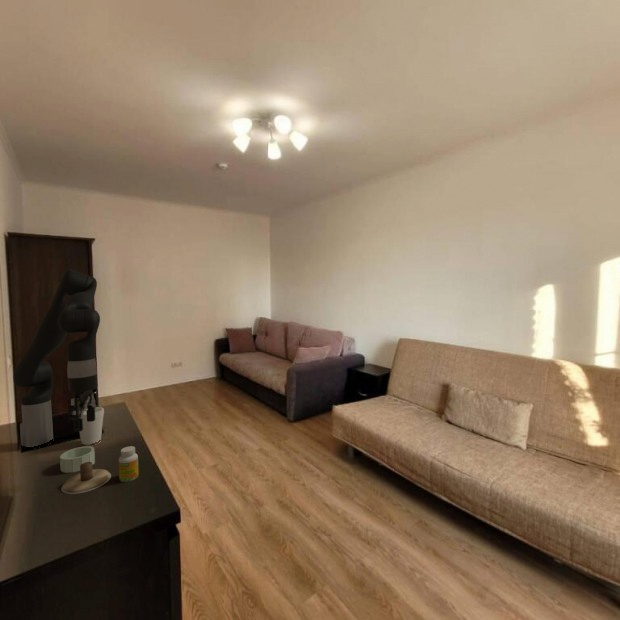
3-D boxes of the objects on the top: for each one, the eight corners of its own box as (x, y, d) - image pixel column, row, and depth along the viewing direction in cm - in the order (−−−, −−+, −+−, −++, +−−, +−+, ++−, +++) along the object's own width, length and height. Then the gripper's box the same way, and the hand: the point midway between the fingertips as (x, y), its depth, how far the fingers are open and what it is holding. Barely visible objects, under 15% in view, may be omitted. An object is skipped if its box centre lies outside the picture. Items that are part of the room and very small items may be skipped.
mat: (50, 496, 99) (50, 494, 99) (79, 473, 112) (79, 471, 112) (95, 495, 99) (95, 493, 99) (119, 472, 112) (119, 470, 112)
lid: (54, 493, 99) (53, 474, 99) (80, 472, 111) (79, 456, 111) (94, 491, 99) (93, 473, 99) (116, 471, 111) (115, 455, 111)
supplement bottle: (119, 485, 104) (117, 454, 103) (119, 477, 109) (118, 447, 108) (138, 480, 106) (137, 450, 106) (138, 472, 111) (137, 443, 111)
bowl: (53, 474, 111) (53, 459, 111) (73, 460, 121) (73, 446, 121) (83, 473, 111) (82, 458, 111) (100, 459, 121) (100, 446, 121)
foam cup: (103, 436, 142) (102, 405, 142) (106, 443, 135) (105, 411, 135) (76, 442, 137) (74, 410, 136) (78, 450, 129) (76, 416, 129)
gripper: (85, 378, 98) (88, 433, 98) (105, 368, 112) (107, 417, 112) (56, 380, 96) (59, 436, 97) (79, 370, 110) (82, 419, 111)
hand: (85, 425), depth 105 cm, fingers open, 8 cm apart
